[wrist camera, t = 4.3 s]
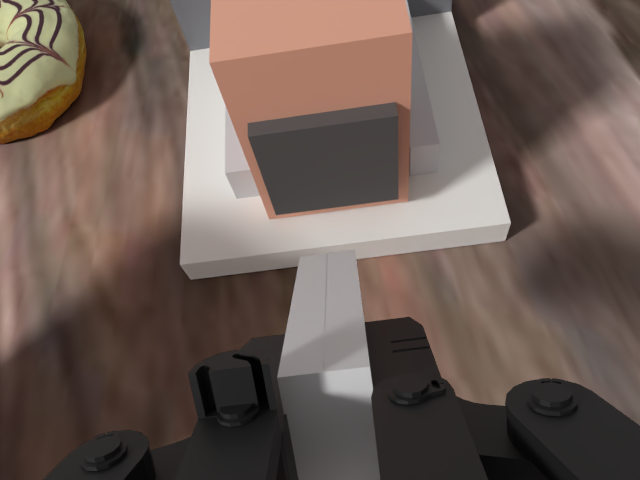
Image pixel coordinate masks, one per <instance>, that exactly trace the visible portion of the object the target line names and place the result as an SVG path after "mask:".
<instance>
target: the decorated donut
mask: <svg viewBox="0 0 640 480" xmlns="http://www.w3.org/2000/svg"><path fill="white" fill-rule="evenodd" d="M85 42H86V41H85V39H84V32H83V29H82V26H81V24H80V22H79V20H78V18H77V17H76V15H75V13H74V12H73V10H72V9H71V8H70V6H69V5H68V3H67V2H66V0H0V144H4V143H7V142H10V141H15V140H17V139H22V138H27V137H31V136H34V135H35V134H37V133H38V132H43V131H45V130H47V129H48V128H49V127H51V125H52V124H53V123H54V121H55V119H56V118H58V117H59V116H60V115H61V114H62V113H63V112H64V111H66V110H67V109H68V108H69V106H70V105H71V103H72V102H73V101H75V100H76V98H77V97H78V96H79V94H80V92H81V89H82V83H83V78H84V74H85V72H84V68H85V63H86V56H87V53H86V44H85Z"/></svg>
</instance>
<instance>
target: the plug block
mask: <svg viewBox="0 0 640 480" xmlns="http://www.w3.org/2000/svg"><path fill="white" fill-rule="evenodd" d="M209 64H210V66H211V69H212V72H213V74H214V77H215V79H216V82H217V85H218V87H219V90H220V92H221V95H222V98H223V100H224V103H225V105H226V108H227V111H228V113H229V116H230V119H231V121H232V124H233V126H234V129H235V132H236V134H237V137H238V139H239V142H240V145H241V147H242V150H243V152H244V155H245V158H246V160H247V163H248V166H249V168H250V171H251V173H252V176H253V179H254V181H255V184H256V186H257V189H258V192H259V194H260V197H261V199H262V202H263V205H264V207H265V210H266V213H267V215H268V218H269V220H270V219H277V218H285V217H293V216H300V215H308V214H316V213H323V212H331V211H339V210H347V209H354V208H362V207H370V206H377V205H385V204H393V203H400V202H408V193H409V152H410V111H411V69H412V28H411V24H410V20H409V15H408V11H407V6H406V2H405V0H211V13H210V50H209Z"/></svg>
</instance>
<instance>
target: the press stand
mask: <svg viewBox="0 0 640 480" xmlns="http://www.w3.org/2000/svg"><path fill="white" fill-rule="evenodd" d="M405 2H406V6H407V11H408V15H409V20H410V24H411V28H412V69H411V111H410V152H409V193H408V202H400V203H393V204H385V205H377V206H370V207H362V208H354V209H347V210H339V211H331V212H323V213H316V214H308V215H300V216H293V217H285V218H277V219H270V220H269V218H268V215H267V213H266V210H265V207H264V205H263V202H262V199H261V197H260V194H259V192H258V189H257V186H256V184H255V181H254V179H253V176H252V173H251V171H250V168H249V166H248V163H247V160H246V158H245V155H244V152H243V150H242V147H241V145H240V142H239V139H238V137H237V134H236V132H235V129H234V126H233V124H232V121H231V119H230V116H229V113H228V111H227V108H226V105H225V103H224V100H223V98H222V95H221V92H220V90H219V87H218V85H217V82H216V79H215V77H214V74H213V72H212V69H211V66H210V64H209V50H210V13H211V0H170V3H171V5H172V7H173V10H174V12H175V15H176V17H177V20H178V22H179V24H180V27H181V29H182V32H183V34H184V37H185V39H186V41H187V44H188V46H189V49H190V69H189V89H188V109H187V129H186V149H185V169H184V189H183V209H182V229H181V249H180V266H181V267H182V269H183V270H184V271H185V273H186V274H187V275H188V277H189V278H190V279H191V280H193V279H201V278H209V277H217V276H225V275H233V274H241V273H249V272H257V271H265V270H273V269H281V268H289V267H298V265H299V259H300V257H302V256H309V255H317V254H324V253H332V252H339V251H347V250H354V249H355V254H356V259H362V258H370V257H378V256H386V255H394V254H402V253H410V252H419V251H427V250H435V249H443V248H451V247H459V246H467V245H475V244H483V243H491V242H499V241H505V240H506V237H507V234H508V231H509V228H510V225H511V221H510V218H509V214H508V211H507V207H506V204H505V200H504V196H503V193H502V189H501V186H500V182H499V179H498V175H497V172H496V168H495V165H494V161H493V158H492V154H491V150H490V147H489V143H488V140H487V136H486V133H485V129H484V126H483V122H482V119H481V115H480V111H479V108H478V104H477V101H476V97H475V94H474V90H473V87H472V83H471V80H470V76H469V73H468V69H467V65H466V62H465V58H464V55H463V51H462V48H461V44H460V41H459V37H458V34H457V30H456V26H455V23H454V19H453V16H452V12H451V9H452V0H405Z"/></svg>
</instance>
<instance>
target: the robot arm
mask: <svg viewBox="0 0 640 480" xmlns="http://www.w3.org/2000/svg"><path fill="white" fill-rule="evenodd" d="M188 375H189V380H190V384H191V389H192V393H193V397H194V402H195V406H196V410H197V415H198V421H197V423H196V426H195V429H194V431H193V434H192V436H191V437H189V438H187V439H184V440H182V441H179V442H176V443H174V444H170V445H167V446H164V447H161V448H157V449H154V450H150V446H149V442H148V438H147V437H146V436H144V435H143V434H142V433H141V432H136V431H131V430H125V431H112V432H108V433H107V434H105V433H104V434H101V435H98V436H96V437H95V438H94V439H92V440H90V441H88V442H86V443H84V444H82V445H80V446H79V447H78V448H77V449H75V450H74V451H73V452H71V453H70V454H69V455H68V456H67V457H66V458H65V459H64V460H63V461H62V462H61V463H59V464H58V465H57V466H56V467H55V468H54V469H53V470H52V471H51V472H50V473H49V474H48V475H47V476H46V477H45V478H44V479H43V480H640V426H639V425H638V424H637V423H635V422H634V421H633V420H631V419H630V418H628V417H627V416H626V415H624V414H623V413H622V412H620V411H619V410H617V409H616V408H615V407H613V406H612V405H610V404H609V403H608V402H606V401H605V400H604V399H602V398H601V397H599V396H598V395H597V394H595V393H594V392H593V391H591V390H589V389H587V388H585V387H583V386H581V385H579V384H576V383H572V382H568V381H564V380H561V379H550V378H545V379H539V380H532V381H526V382H524V383H521V384H519V385H517V386H514V387H513V388H512V389H511V390H510V391H509V392H508V393H507V396H506V403H505V404H506V406H498V405H486V404H479V403H473V402H470V401H466V400H463V399H461V398H459V397H457V396H456V395H455V392H454V389H453V388H452V386H451V385H450V384H449V383H448V381H447V380H445V379H443V378H441V375H440V373H439V370H438V367H437V364H436V362H435V359H434V356H433V353H432V351H431V348H430V345H429V342H428V340H427V337H426V334H425V331H424V329H423V326H422V325H421V324H419V323H418V322H416V321H415V320H413V319H412V318H410V317H405V318H397V319H389V320H381V321H373V322H365V320H364V313H363V306H362V298H361V291H360V283H359V276H358V269H357V261H356V254H355V249H354V250H347V251H339V252H332V253H324V254H317V255H309V256H302V257H300V259H299V265H298V270H297V275H296V281H295V286H294V291H293V296H292V302H291V307H290V312H289V318H288V323H287V328H286V333H285V334H283V335H275V336H267V337H259V338H252V339H251V340H250V341H249V342H248V343H246V344H245V345H244V346H243V347H242V348H241V349H240V350H234V351H229V352H224V353H220V354H217V355H215V356H212V357H209V358H207V359H205V360H203V361H202V362H200V363H199V364H197V365H196V366H194V367H193V369H192V370H191V371H190V372H189V373H188Z"/></svg>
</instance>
